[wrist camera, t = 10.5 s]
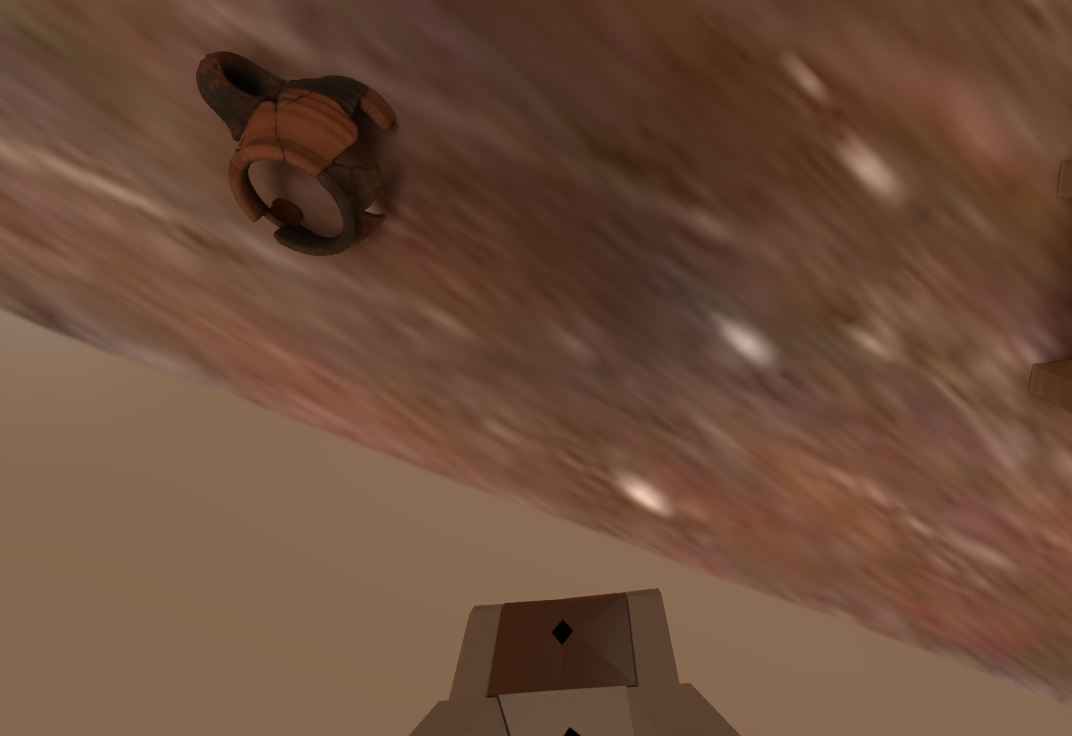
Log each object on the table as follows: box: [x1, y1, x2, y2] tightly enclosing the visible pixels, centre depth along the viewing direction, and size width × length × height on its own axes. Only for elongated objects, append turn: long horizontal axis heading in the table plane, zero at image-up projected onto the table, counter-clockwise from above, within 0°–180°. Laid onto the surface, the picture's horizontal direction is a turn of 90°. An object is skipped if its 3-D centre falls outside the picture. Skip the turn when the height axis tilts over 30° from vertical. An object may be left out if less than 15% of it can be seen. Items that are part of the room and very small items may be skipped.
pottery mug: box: [196, 51, 395, 256], centre depth 32 cm, size 12×10×8 cm
